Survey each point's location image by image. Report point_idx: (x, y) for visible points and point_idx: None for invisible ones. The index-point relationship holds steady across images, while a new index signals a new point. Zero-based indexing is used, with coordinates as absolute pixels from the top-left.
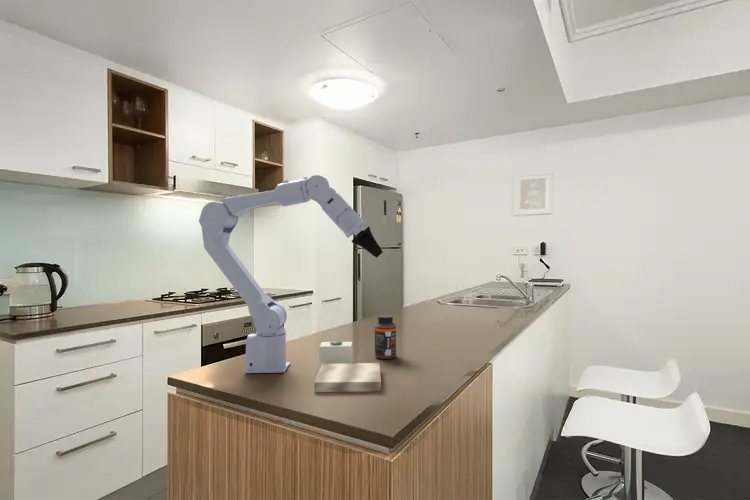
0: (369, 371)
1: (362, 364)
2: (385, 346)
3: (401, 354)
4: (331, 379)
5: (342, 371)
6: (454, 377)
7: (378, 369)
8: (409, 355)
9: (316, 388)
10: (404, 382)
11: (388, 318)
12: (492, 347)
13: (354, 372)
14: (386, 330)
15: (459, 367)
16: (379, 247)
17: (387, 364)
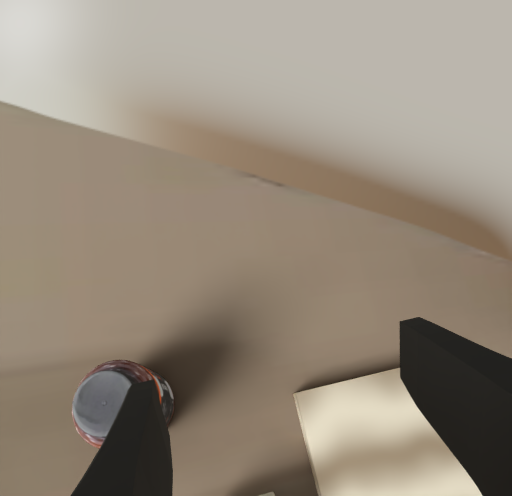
0: (381, 403)
1: (322, 441)
2: (168, 397)
3: (103, 358)
4: (477, 493)
5: (403, 484)
6: (301, 205)
7: (357, 382)
8: (113, 331)
9: None
10: (365, 313)
11: (133, 383)
12: (5, 109)
13: (402, 444)
14: (159, 391)
15: (219, 194)
16: (454, 336)
17: (222, 383)
